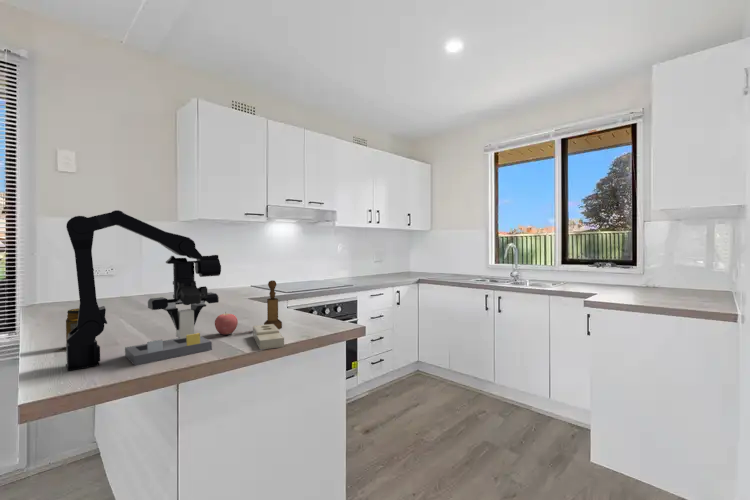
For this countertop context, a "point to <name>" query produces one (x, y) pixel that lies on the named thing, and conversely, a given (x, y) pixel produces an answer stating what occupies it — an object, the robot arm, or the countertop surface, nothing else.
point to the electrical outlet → (267, 336)
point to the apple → (226, 323)
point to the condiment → (70, 323)
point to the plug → (185, 323)
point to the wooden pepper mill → (272, 307)
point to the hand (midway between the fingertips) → (185, 328)
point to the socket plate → (167, 349)
